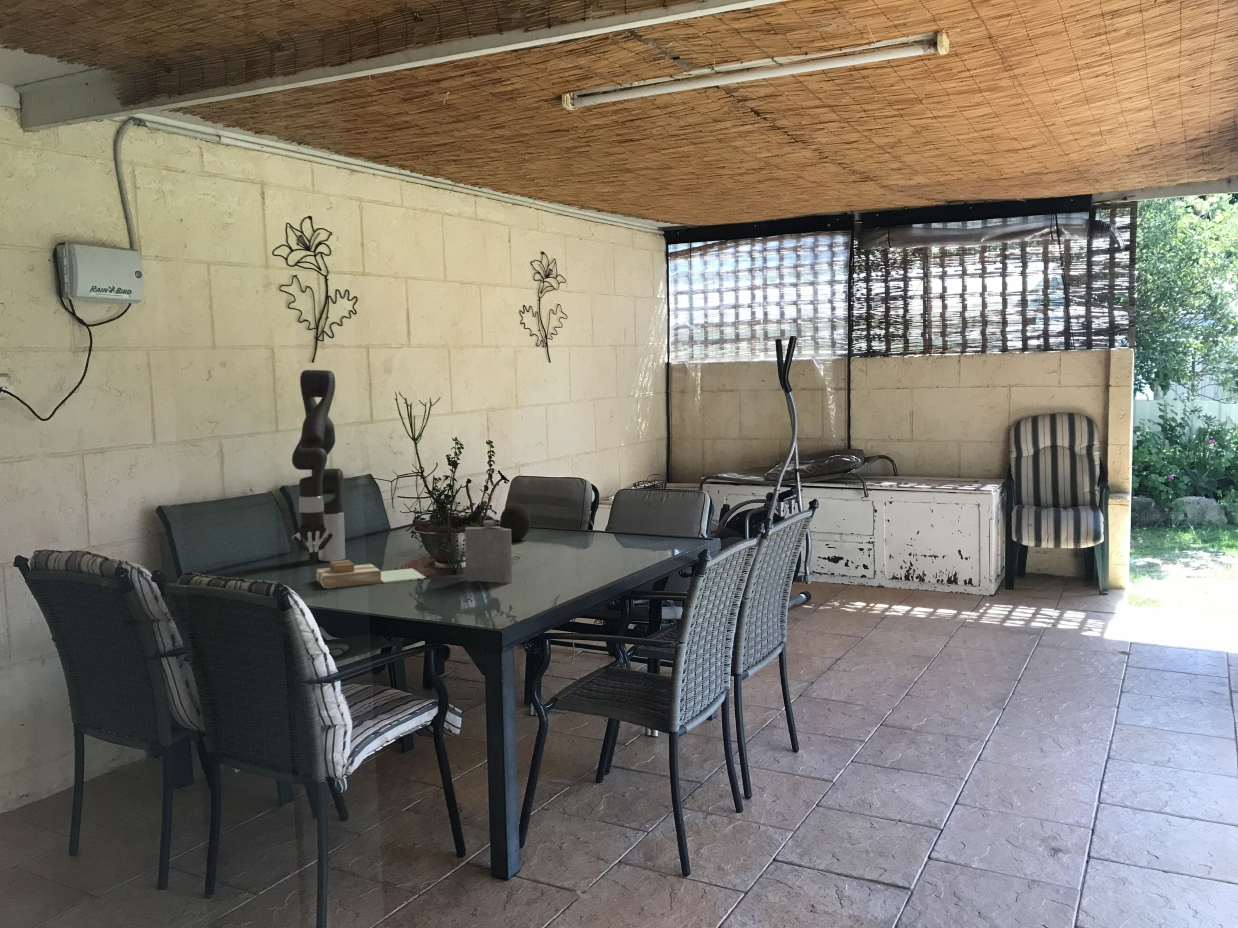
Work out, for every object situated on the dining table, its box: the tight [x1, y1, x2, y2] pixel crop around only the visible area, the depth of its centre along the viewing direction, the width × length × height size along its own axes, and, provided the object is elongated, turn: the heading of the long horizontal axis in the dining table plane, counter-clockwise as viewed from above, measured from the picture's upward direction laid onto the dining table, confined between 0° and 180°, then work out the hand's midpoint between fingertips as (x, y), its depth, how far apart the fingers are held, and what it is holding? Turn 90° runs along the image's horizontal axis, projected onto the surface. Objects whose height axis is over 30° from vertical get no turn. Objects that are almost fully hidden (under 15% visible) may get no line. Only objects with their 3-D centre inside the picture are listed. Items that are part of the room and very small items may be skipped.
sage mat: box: [381, 567, 427, 584], centre depth 331 cm, size 16×14×1 cm
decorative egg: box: [499, 503, 532, 542], centre depth 396 cm, size 12×12×15 cm
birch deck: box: [315, 563, 382, 589], centre depth 323 cm, size 13×18×4 cm
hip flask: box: [464, 520, 513, 584], centre depth 322 cm, size 16×4×20 cm, turn 75°
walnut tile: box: [329, 559, 355, 574], centre depth 322 cm, size 8×6×2 cm
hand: (313, 563), depth 317 cm, fingers closed
